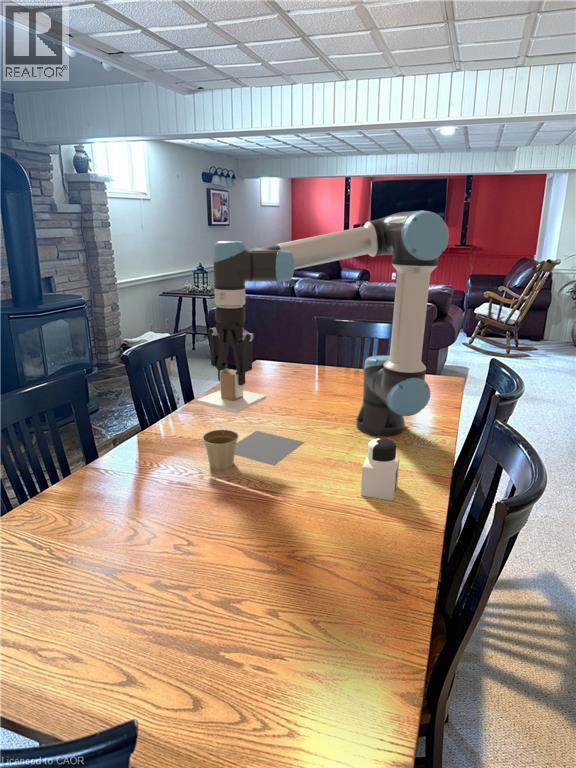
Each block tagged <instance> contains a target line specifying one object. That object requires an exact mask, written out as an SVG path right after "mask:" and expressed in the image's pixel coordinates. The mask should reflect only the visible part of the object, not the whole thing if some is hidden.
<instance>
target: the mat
mask: <svg viewBox="0 0 576 768" xmlns="http://www.w3.org/2000/svg"><path fill="white" fill-rule="evenodd" d="M304 443H305V441H302V440H297V439H293V438H289V437H284V436H281V435H278V434H277V435H276V434H273V433H269V432H263V431H260V430H255V431H254V432H252V433H251V434H249V435H247V436H245V437H244V438H242V439H240V440H239V441H237V442H236V444H235V453H234V456H235V455H236V456H239V457H242V458H246V459H250V460H252V461H253V460H254V461H257V462H260V463H264V464H268V465H271V466H276V465H277V464H278V463H280V462H281V461H283V459H285V458H286V457H287V456H288V455H290V454H291V453H293V452H294V451H295V450H297V449H298V448H300V447H301V446H302V445H304Z"/></svg>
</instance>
